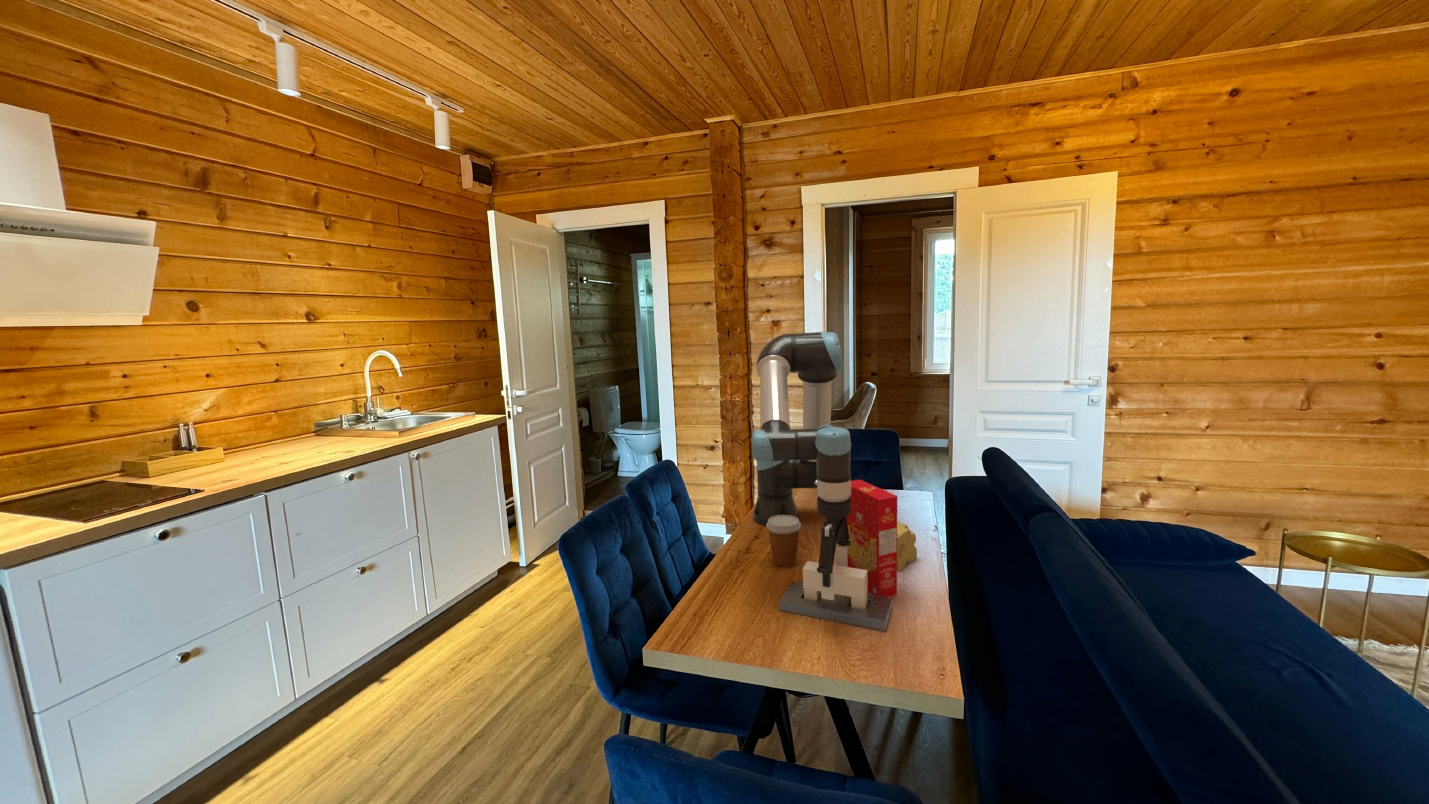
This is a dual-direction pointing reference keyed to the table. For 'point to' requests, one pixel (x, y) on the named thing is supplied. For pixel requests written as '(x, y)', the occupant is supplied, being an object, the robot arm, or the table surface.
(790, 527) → the disposable coffee cup
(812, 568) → the white block
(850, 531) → the food packaging
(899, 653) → the table surface
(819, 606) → the grey flat rectangular block
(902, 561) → the cheese
